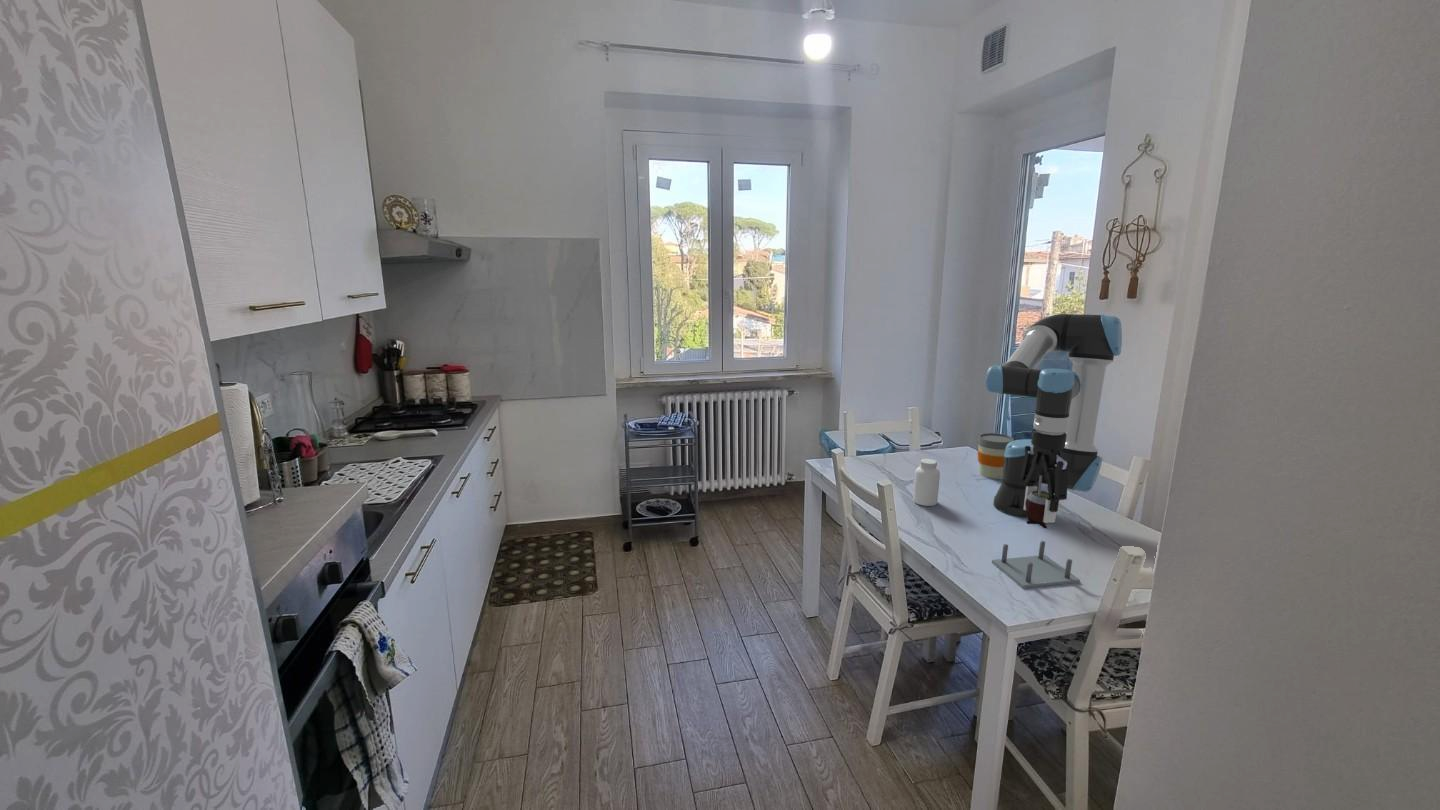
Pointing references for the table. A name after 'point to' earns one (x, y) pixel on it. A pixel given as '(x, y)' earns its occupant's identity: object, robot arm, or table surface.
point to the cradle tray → (1035, 569)
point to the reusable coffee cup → (992, 454)
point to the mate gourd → (1036, 506)
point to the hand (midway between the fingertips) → (1038, 515)
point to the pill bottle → (926, 483)
